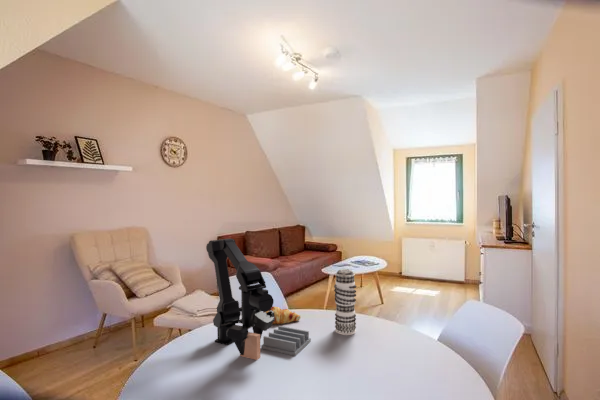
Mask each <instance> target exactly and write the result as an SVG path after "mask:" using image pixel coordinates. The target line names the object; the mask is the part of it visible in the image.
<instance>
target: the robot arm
mask: <svg viewBox="0 0 600 400" xmlns="http://www.w3.org/2000/svg"><path fill="white" fill-rule="evenodd" d="M206 252H207V255H208V258H209V259H210V260H211V262H213V265H214V270H215V277H216V278H215V279H216V283H217V290H218V297H219V302H218V304H217V306H216V314H215V315H214V317H213V318H212V321H213V322H212V323H213V326H214V327H216V328H217V331H216V332H217V338H216V339H215V340H214V342H215V343H219V344H223V345H229V344H232V343H234V344H235V346H236V348H237V350H238V352H239V354H241V355H244V351H245V340H246V339H247V338H248V336H247V335H248V332H249V329H252V331H253V332H252V333H256V334H260V340H261V339H262V336H263V335H262V334H263V331H264V332H267V330H269V329H271V328H272V326H273V324H272V322H274V321H275V319H274V318H275V316H274V312H273V311H272V310H270V309H271V308H272V307H274V301H275V300H274V298H273V296H272V295H271V294H269V290H268V289H266V288H267V286H266V285H267V284H266V280H265V278H264V277H263V275H262V272H261V270H260V269H259V268H258V266H257V265H256V264H255V263H254V262H253V263H252V262H250V261H248V259H247V258H246V257H245V255H244V254H243V253H242V251H241V249H240V248H239V247H238V245H237V244H236V240H235V239H233V238H223V239H213V240H209V241H208V243H207V244H206ZM227 259H228V260H230V263H231V264H232V265H233V268H235V270H236V275H235V276H236V279H237V281H238V284H239V285H240V286H239V287H238V289H239V290H240V291H241V292H240V293H241V295H240V296H241V299H240V300H241V305H240V303H239V300H236V299H235V298H234V297H233V291H232V287H231V280H230V275H229V267H228V262H227V261H228V260H227ZM240 306H241V307H240ZM269 310H270V311H269ZM267 311H269V312H267ZM266 312H267V313H266ZM238 324H241V325H238Z"/></svg>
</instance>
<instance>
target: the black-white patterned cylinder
mask: <svg viewBox="0 0 600 400" xmlns="http://www.w3.org/2000/svg"><path fill="white" fill-rule="evenodd" d="M355 275H356V274H355V272H353V270H352V269H348V268H347V269H346V268H342V269H339V270H337V272H336V273H335V284H334V286H333V287H334V290H333V291H334V302H335V307H336V308H335V314H334V315H335V317H334V319H335V322H334V324H335V325H334V328H335V330H334V331H335V333H336V334H339V335H342V336H350V335H355V334H356V333H357V330H356V328H357V326H356V325H357V322H356V320H357V318H356V316H357V315H356V309H355V304H356V302H357V299H356V298H355V297H356V296H357V294H356V293H357V290H356V289H355V288H357V285H356V282H355Z"/></svg>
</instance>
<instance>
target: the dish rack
mask: <svg viewBox="0 0 600 400" xmlns="http://www.w3.org/2000/svg"><path fill="white" fill-rule="evenodd" d="M309 335H310V331H308V330H304V329H299V328H293V327H288V326H283V325H277V328H274V329H273V332H268V336H267V335H265V336H264V335H263V339H262V340H263V342H262V344H260V349H264V350H267V351H272V352H276V353H280V354H285V355H290V356H294V357H295V356H297V355H298V354H300V353H301V351H302V350H303V349H304V348H306V347H307V346H308V344H310V342H311V341H312V339H311V338H310V336H309Z"/></svg>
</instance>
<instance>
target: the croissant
mask: <svg viewBox="0 0 600 400" xmlns="http://www.w3.org/2000/svg"><path fill="white" fill-rule="evenodd" d="M270 310H272V311H273V312H274V316H275V318H274V319H275V321H274V322H272V325H283V324H286V323H287V324H289V323H292V322H297V321H300V320H301V318H302V316H301V315H299V314H298V313H296V312H295V311H293V312H292V311H291V310H289V309H288V308H284V309H283V308H281V307H279V306H272V308H271V309H270ZM270 310H269V311H270ZM269 311H267V312H269ZM267 312H266V313H267Z"/></svg>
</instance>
